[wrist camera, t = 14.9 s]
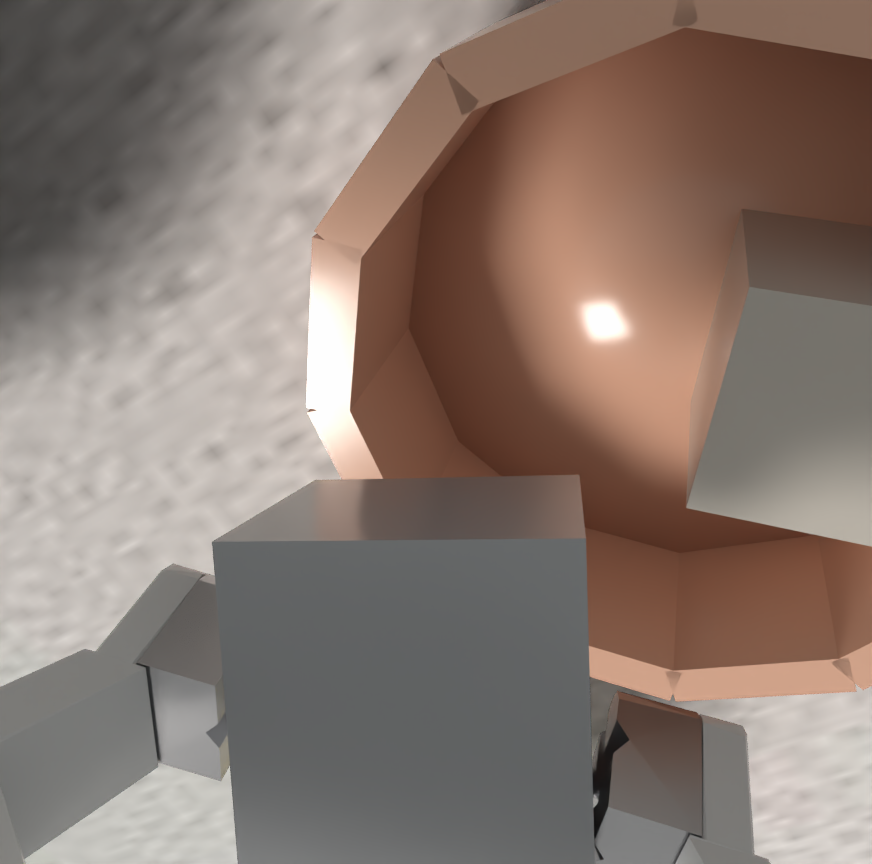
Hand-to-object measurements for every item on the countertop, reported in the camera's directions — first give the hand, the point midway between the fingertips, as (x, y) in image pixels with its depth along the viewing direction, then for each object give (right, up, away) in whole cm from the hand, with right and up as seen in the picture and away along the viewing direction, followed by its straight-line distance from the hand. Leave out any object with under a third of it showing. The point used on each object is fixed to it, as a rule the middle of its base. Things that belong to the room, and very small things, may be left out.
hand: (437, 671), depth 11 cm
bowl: (+5, +5, +5) cm, 9 cm away
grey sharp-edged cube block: (0, +1, +1) cm, 2 cm away
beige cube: (+7, +5, +4) cm, 9 cm away
